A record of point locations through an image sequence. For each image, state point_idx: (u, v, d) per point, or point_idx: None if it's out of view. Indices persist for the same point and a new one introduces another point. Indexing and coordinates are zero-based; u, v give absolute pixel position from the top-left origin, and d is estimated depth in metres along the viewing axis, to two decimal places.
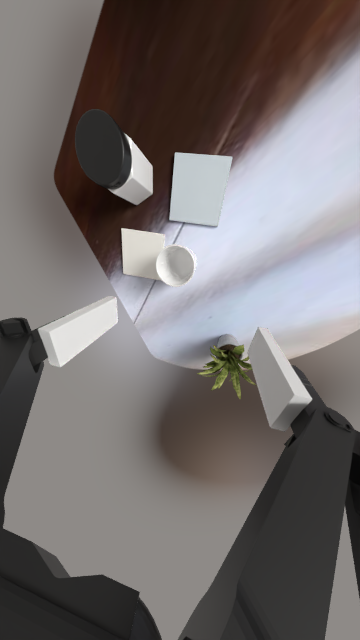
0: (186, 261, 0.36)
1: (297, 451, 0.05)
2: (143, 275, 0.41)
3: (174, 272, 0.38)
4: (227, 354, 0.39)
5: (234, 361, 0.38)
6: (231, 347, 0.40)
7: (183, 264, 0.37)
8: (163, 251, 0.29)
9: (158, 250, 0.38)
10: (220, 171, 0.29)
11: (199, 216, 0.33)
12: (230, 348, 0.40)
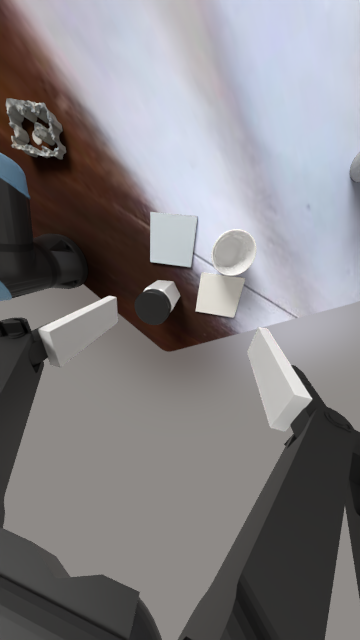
0: (227, 247, 0.35)
1: (297, 451, 0.05)
2: (237, 297, 0.40)
3: (237, 261, 0.35)
4: None
5: None
6: None
7: (230, 251, 0.35)
8: (216, 267, 0.30)
9: (215, 279, 0.39)
10: (159, 221, 0.36)
11: (189, 236, 0.36)
12: None
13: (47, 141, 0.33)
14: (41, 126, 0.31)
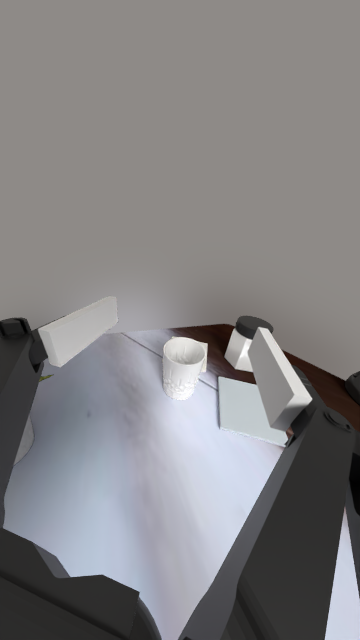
0: None
1: (297, 451, 0.05)
2: None
3: None
4: None
5: None
6: None
7: None
8: (198, 346, 0.30)
9: None
10: (272, 430, 0.26)
11: (226, 405, 0.29)
12: None
13: None
14: None
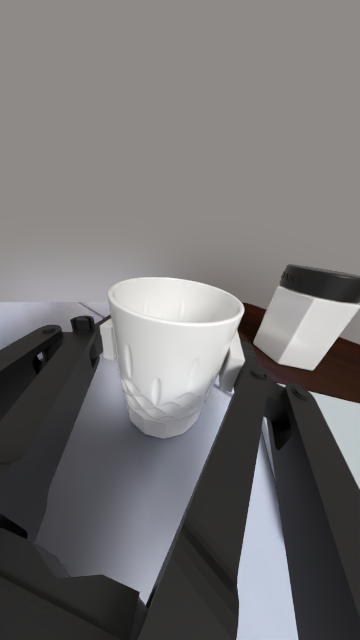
0: None
1: (231, 404, 0.06)
2: None
3: None
4: None
5: None
6: None
7: None
8: (214, 298, 0.12)
9: None
10: None
11: None
12: None
13: None
14: None
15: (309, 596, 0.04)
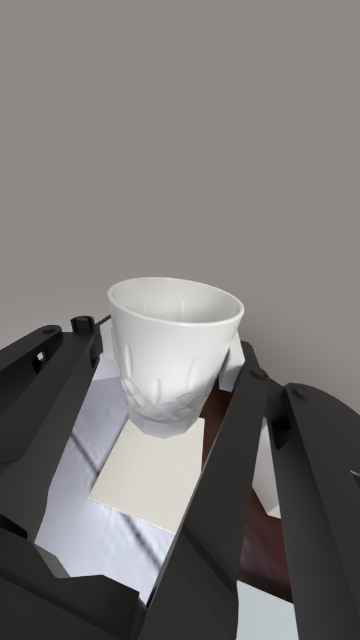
0: None
1: (231, 404, 0.06)
2: (120, 441, 0.19)
3: None
4: None
5: None
6: None
7: None
8: (214, 298, 0.12)
9: (161, 506, 0.15)
10: None
11: None
12: None
13: None
14: None
15: (309, 596, 0.04)
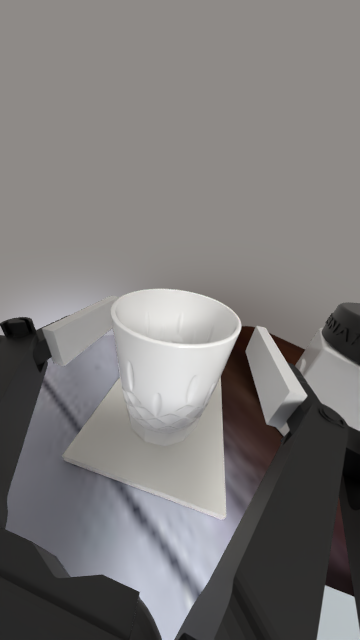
0: None
1: (292, 447, 0.05)
2: (113, 393, 0.14)
3: None
4: None
5: None
6: None
7: None
8: (212, 310, 0.12)
9: (170, 469, 0.10)
10: None
11: None
12: None
13: None
14: None
15: None
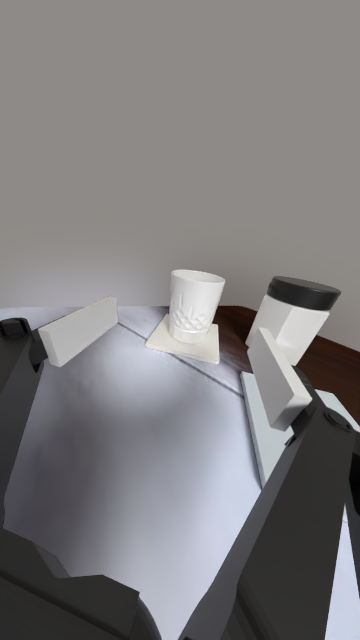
0: None
1: (297, 451, 0.05)
2: (159, 327, 0.27)
3: None
4: None
5: None
6: None
7: None
8: (213, 279, 0.24)
9: (194, 349, 0.23)
10: None
11: (267, 429, 0.14)
12: None
13: None
14: None
15: None
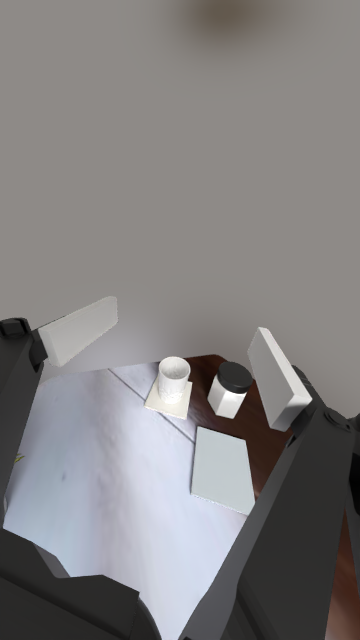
0: None
1: (297, 451, 0.05)
2: (153, 389, 0.43)
3: None
4: None
5: None
6: None
7: None
8: (185, 364, 0.40)
9: (172, 409, 0.38)
10: (242, 496, 0.26)
11: (200, 464, 0.29)
12: None
13: None
14: None
15: None
